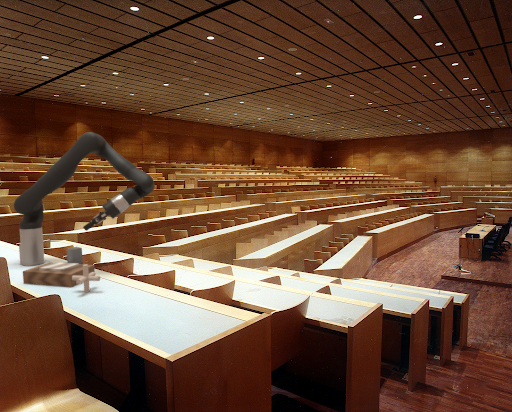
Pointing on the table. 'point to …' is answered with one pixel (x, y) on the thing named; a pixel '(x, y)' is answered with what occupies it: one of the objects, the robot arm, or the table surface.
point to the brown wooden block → (55, 274)
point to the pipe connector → (86, 278)
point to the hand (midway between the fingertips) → (84, 228)
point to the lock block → (74, 255)
